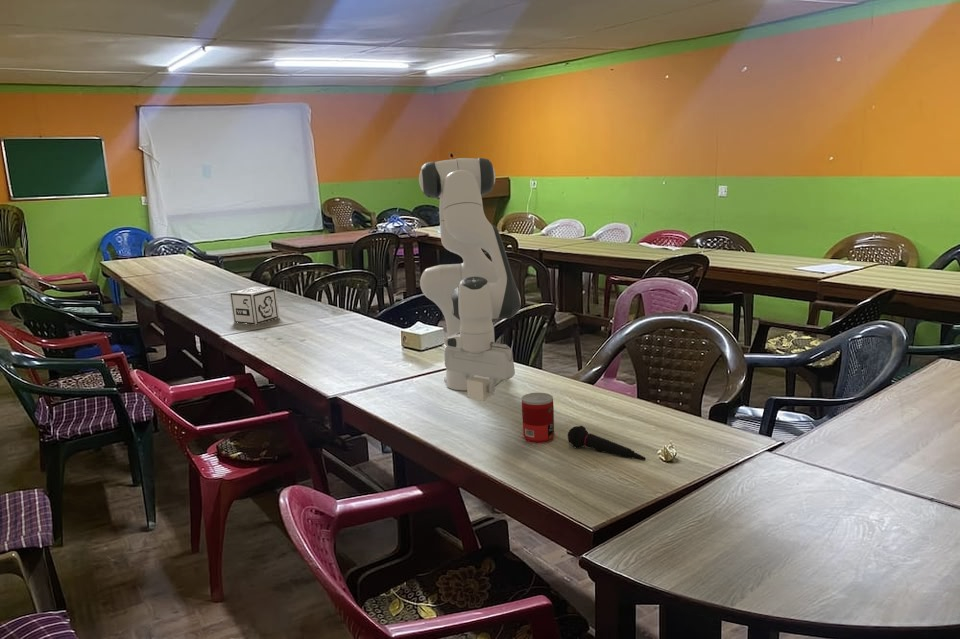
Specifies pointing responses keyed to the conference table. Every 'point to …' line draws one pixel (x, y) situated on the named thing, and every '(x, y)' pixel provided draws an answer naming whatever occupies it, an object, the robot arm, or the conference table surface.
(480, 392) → the cream cube
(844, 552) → the conference table surface
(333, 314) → the conference table surface
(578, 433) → the microphone
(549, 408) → the canned food
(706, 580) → the conference table surface
